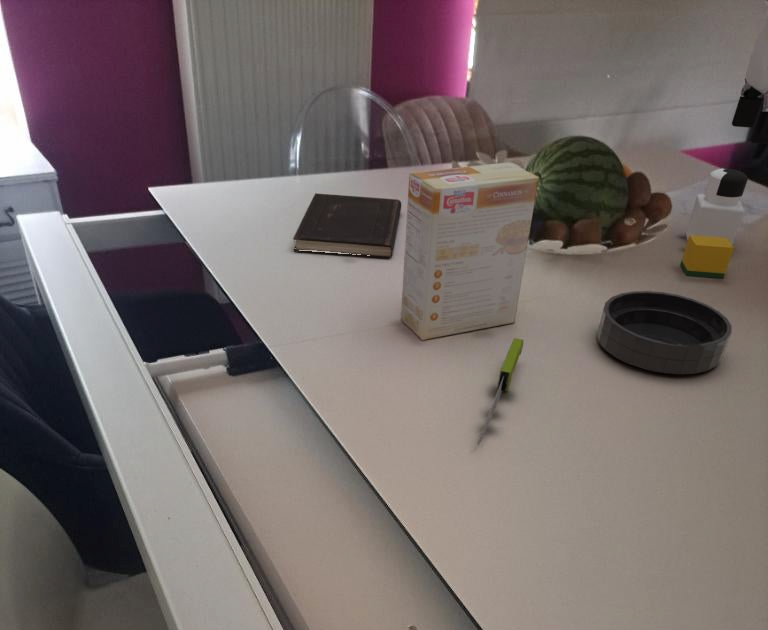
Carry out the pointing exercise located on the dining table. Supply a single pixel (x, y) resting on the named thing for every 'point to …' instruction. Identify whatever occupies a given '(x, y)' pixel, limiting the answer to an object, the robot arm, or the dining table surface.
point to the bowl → (663, 332)
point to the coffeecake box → (465, 247)
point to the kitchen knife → (504, 378)
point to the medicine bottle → (719, 206)
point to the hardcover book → (349, 226)
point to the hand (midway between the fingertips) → (751, 134)
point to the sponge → (706, 256)
